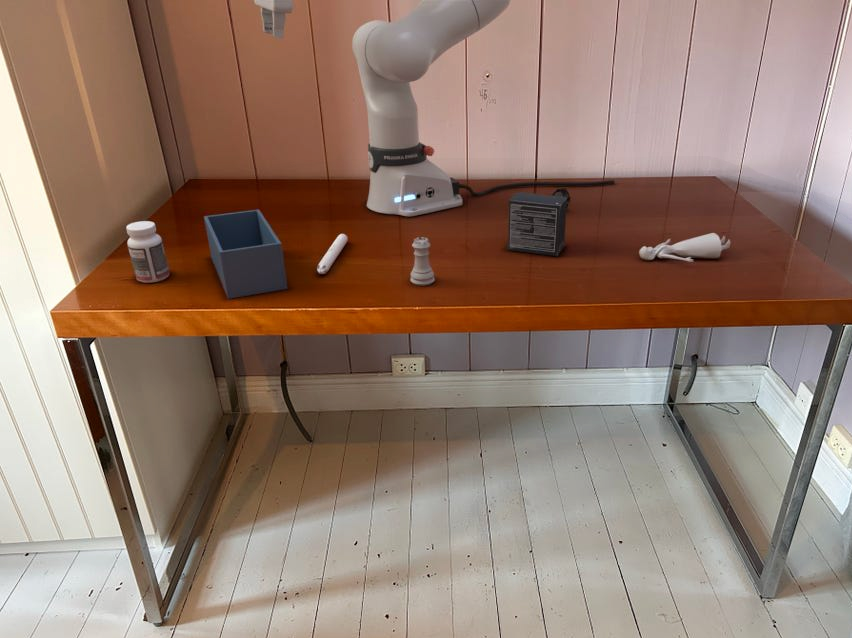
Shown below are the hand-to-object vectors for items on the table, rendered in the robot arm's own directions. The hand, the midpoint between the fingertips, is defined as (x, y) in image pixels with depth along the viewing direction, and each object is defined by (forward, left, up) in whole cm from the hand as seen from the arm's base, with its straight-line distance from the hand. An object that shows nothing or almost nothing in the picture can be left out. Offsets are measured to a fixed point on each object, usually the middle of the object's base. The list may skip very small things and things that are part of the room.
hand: (273, 35), depth 139 cm
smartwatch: (-57, +16, -38) cm, 71 cm away
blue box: (+15, +24, -38) cm, 47 cm away
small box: (-40, +35, -38) cm, 66 cm away
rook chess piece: (-13, +41, -38) cm, 57 cm away
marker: (-1, +24, -38) cm, 45 cm away
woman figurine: (-64, +51, -38) cm, 90 cm away
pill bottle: (+31, +19, -38) cm, 52 cm away
